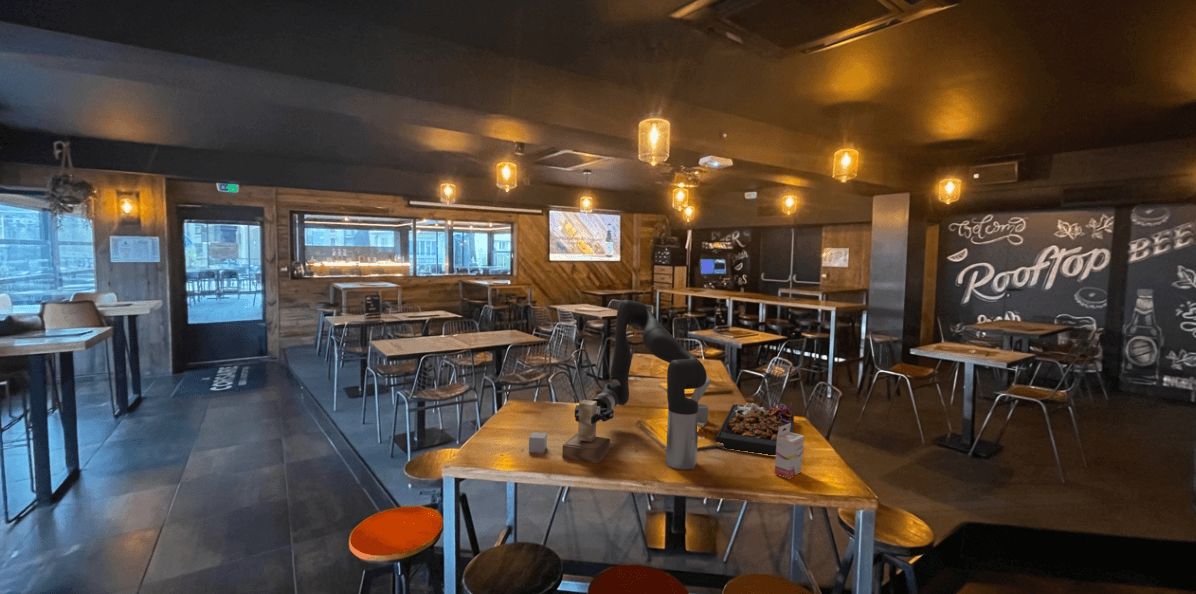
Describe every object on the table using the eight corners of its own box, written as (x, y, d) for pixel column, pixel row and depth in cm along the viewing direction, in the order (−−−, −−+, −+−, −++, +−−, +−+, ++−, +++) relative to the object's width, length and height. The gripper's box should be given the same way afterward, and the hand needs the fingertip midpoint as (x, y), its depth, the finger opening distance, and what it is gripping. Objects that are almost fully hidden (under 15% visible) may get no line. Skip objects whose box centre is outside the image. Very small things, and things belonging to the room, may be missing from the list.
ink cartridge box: (789, 480, 153) (792, 431, 152) (773, 475, 156) (776, 427, 155) (802, 472, 159) (805, 426, 158) (786, 467, 162) (789, 421, 161)
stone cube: (546, 447, 173) (547, 433, 172) (543, 453, 168) (544, 438, 167) (531, 446, 173) (532, 432, 172) (528, 452, 168) (529, 437, 168)
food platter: (732, 414, 220) (733, 390, 219) (793, 423, 211) (795, 398, 210) (715, 449, 178) (717, 420, 177) (791, 461, 169) (793, 431, 168)
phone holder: (685, 416, 213) (687, 373, 212) (709, 420, 208) (712, 376, 207) (671, 428, 197) (673, 381, 196) (697, 432, 193) (699, 385, 192)
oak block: (595, 437, 169) (596, 401, 168) (591, 441, 165) (592, 405, 164) (582, 435, 171) (583, 399, 170) (577, 439, 166) (579, 403, 165)
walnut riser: (609, 450, 172) (610, 437, 171) (598, 463, 160) (598, 450, 160) (575, 445, 176) (576, 432, 175) (562, 457, 164) (562, 444, 164)
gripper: (582, 392, 183) (564, 405, 167) (621, 397, 178) (606, 411, 162) (582, 413, 183) (563, 428, 167) (620, 418, 179) (605, 434, 163)
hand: (584, 419), depth 165 cm, fingers closed on oak block, 4 cm apart
